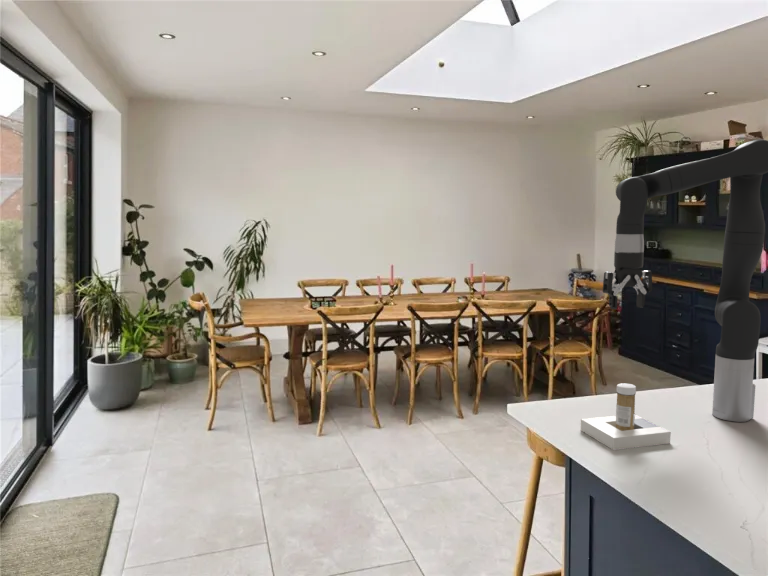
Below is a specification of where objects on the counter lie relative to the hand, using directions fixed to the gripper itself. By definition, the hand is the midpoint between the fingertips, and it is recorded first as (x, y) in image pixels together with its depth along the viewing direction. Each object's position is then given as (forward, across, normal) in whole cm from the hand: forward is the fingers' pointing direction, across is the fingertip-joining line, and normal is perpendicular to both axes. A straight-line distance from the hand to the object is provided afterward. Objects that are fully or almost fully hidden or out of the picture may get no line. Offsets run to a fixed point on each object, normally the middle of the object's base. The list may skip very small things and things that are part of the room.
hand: (626, 308), depth 167 cm
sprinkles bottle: (+30, +12, +17) cm, 37 cm away
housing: (+30, +12, +17) cm, 37 cm away
